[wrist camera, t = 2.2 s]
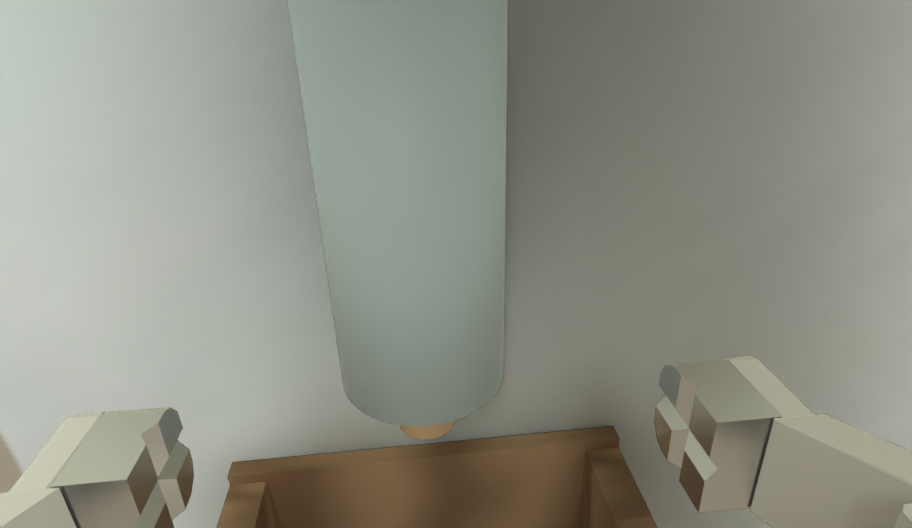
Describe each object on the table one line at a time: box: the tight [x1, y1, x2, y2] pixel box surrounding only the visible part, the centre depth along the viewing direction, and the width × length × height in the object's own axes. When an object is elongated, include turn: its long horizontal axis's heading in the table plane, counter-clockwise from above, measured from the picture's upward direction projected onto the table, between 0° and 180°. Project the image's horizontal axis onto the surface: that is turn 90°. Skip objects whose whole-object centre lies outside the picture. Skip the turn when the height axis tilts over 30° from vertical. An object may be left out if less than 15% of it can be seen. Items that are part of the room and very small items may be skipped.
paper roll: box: [287, 0, 508, 440], centre depth 17 cm, size 16×6×6 cm, turn 2°
